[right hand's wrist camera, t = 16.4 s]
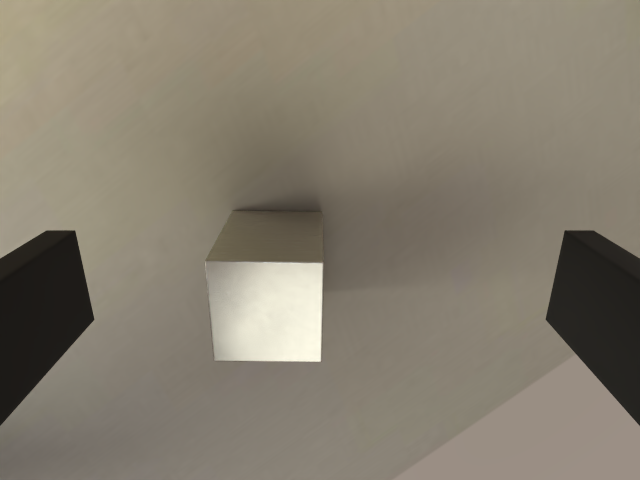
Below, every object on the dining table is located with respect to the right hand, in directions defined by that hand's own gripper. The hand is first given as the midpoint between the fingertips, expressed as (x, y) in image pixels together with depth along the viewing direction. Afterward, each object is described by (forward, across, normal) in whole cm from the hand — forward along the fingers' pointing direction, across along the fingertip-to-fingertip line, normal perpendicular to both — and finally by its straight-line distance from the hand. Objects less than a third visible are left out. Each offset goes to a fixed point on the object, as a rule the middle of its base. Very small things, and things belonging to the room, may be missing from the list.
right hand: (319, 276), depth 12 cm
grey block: (+20, +3, +8) cm, 21 cm away
